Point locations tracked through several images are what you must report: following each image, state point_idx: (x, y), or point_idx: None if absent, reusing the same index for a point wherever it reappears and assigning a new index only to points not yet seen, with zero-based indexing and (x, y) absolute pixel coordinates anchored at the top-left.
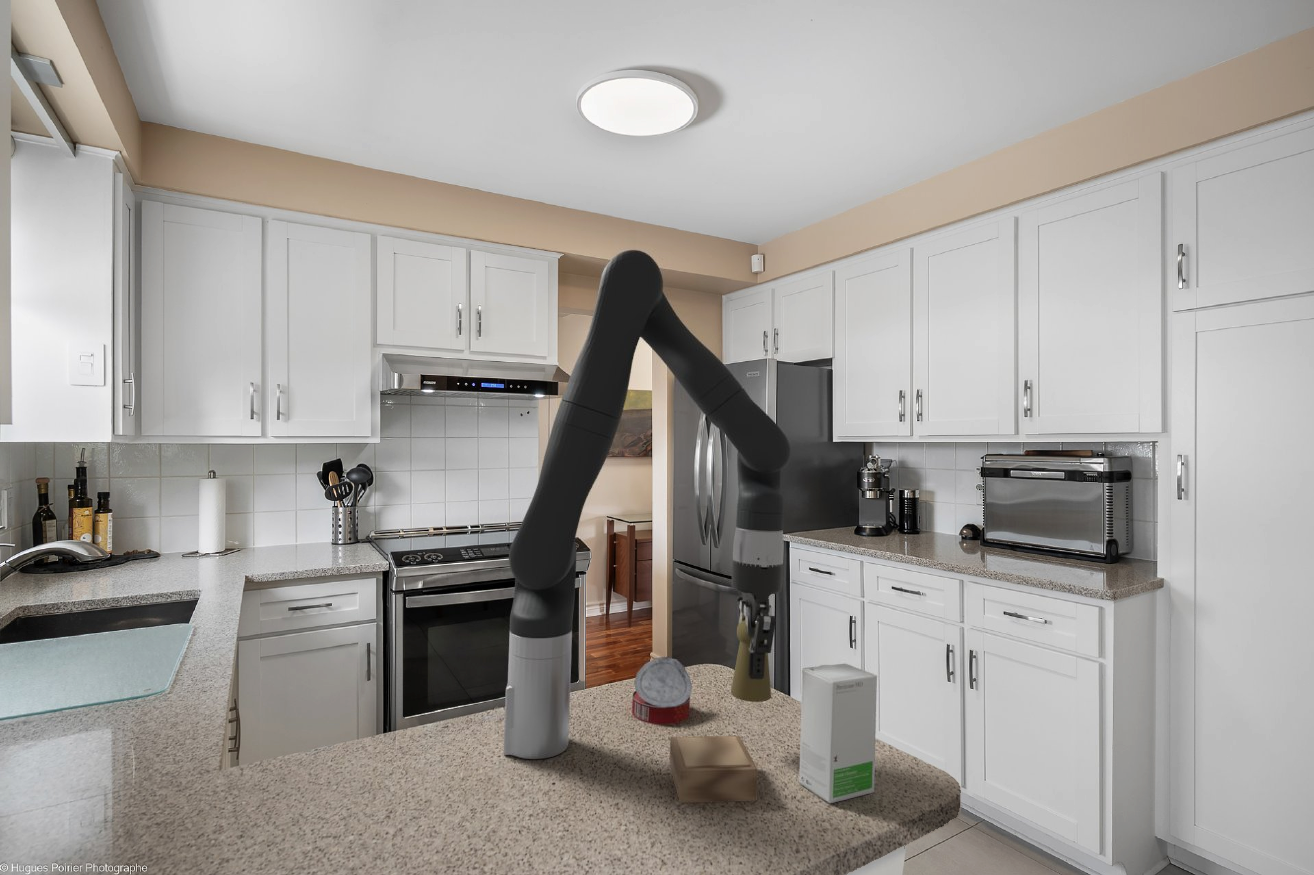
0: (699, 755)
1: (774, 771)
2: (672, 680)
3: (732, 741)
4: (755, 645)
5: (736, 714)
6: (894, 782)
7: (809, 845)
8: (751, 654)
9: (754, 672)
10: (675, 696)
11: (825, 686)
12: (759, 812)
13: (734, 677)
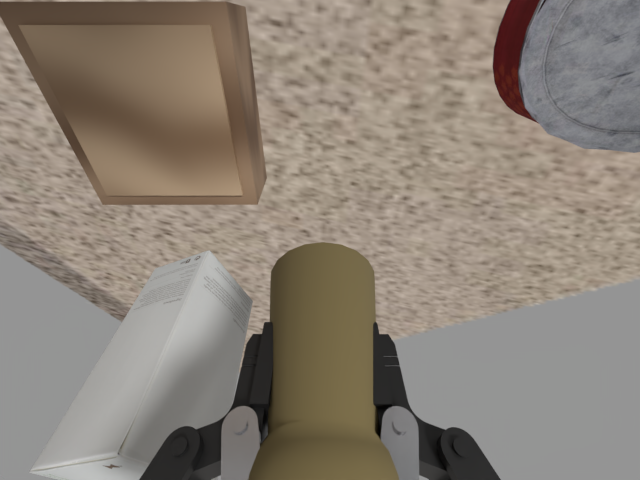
0: (106, 83)
1: (246, 227)
2: None
3: (214, 184)
4: (144, 474)
5: (483, 220)
6: None
7: (35, 217)
8: (249, 402)
9: (245, 348)
10: (566, 80)
11: (58, 446)
12: None
13: (320, 283)
